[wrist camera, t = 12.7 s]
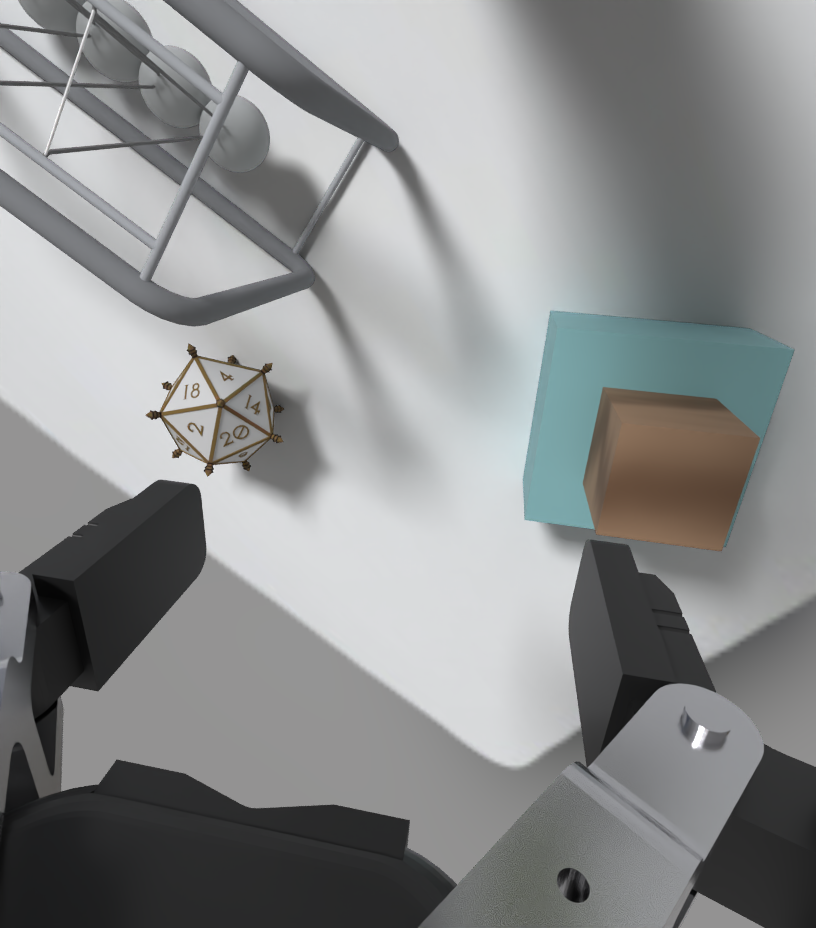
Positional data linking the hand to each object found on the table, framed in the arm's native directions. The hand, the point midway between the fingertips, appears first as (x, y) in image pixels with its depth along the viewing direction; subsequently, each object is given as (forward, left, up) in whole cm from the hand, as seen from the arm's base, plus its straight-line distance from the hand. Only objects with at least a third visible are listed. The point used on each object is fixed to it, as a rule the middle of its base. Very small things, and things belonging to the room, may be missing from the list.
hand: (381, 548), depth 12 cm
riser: (+5, +11, -28) cm, 31 cm away
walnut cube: (+5, +11, -22) cm, 25 cm away
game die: (+7, -16, -28) cm, 33 cm away
